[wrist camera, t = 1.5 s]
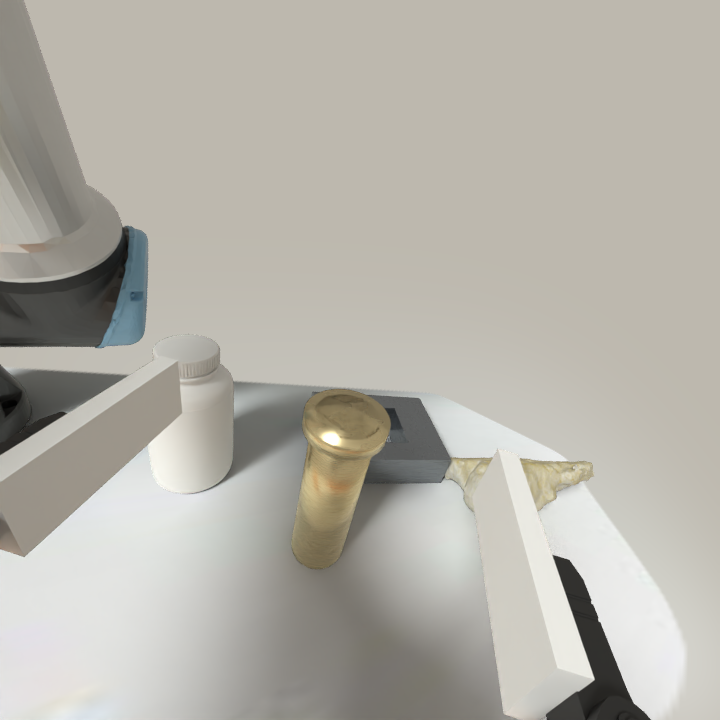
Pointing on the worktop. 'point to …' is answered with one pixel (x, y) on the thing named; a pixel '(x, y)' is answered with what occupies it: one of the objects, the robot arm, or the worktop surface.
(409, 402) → the block
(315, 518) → the brass flanged peg
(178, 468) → the pill bottle
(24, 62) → the robot arm
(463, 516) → the worktop surface
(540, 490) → the beige rock
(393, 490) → the worktop surface
